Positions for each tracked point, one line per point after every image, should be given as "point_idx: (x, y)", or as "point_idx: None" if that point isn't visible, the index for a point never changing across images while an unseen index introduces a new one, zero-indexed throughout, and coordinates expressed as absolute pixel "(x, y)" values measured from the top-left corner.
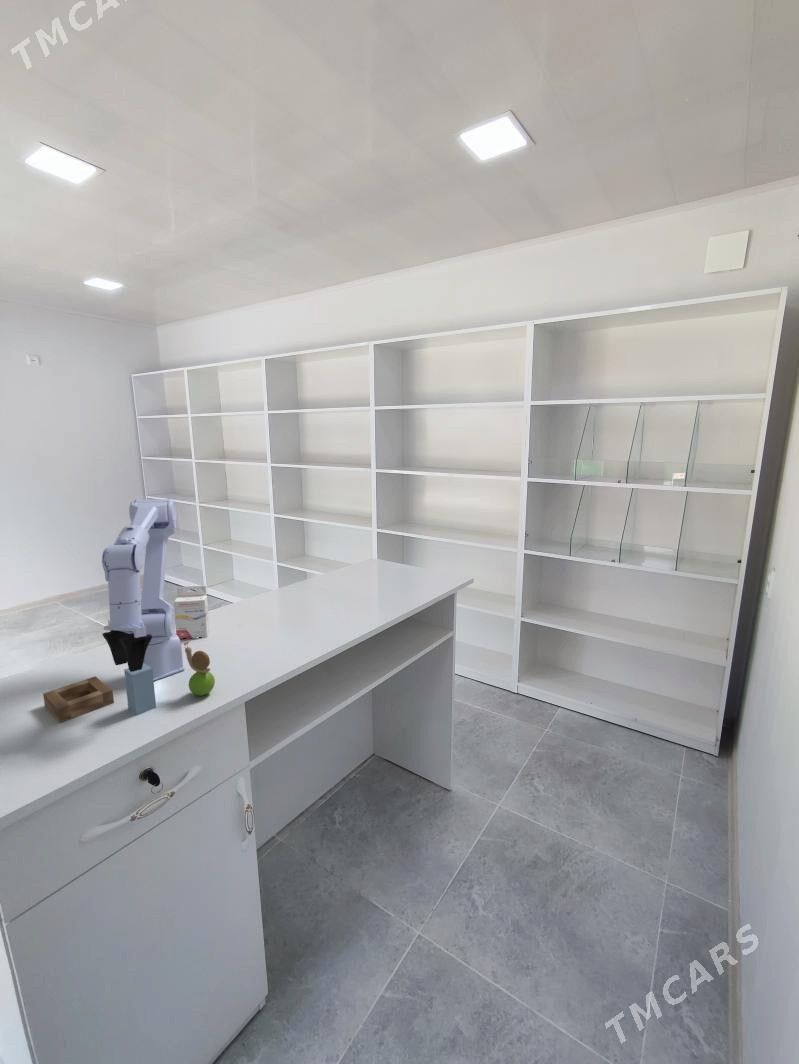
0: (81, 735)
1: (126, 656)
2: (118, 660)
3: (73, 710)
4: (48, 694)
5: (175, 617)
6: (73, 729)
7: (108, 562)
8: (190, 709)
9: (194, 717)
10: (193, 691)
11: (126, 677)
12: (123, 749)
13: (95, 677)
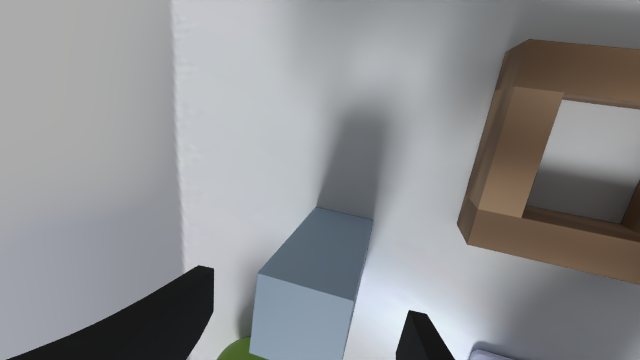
0: (352, 59)
1: (143, 321)
2: (409, 341)
3: (500, 99)
4: None
5: None
6: (413, 61)
7: None
8: (224, 285)
9: (186, 262)
10: (244, 340)
11: (341, 275)
12: (191, 91)
13: None
